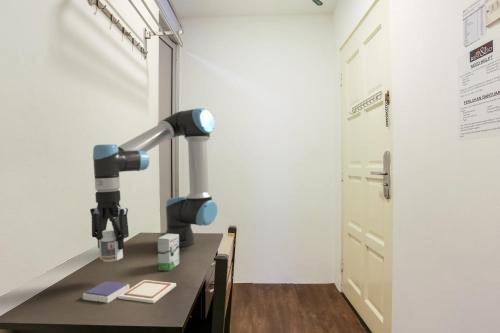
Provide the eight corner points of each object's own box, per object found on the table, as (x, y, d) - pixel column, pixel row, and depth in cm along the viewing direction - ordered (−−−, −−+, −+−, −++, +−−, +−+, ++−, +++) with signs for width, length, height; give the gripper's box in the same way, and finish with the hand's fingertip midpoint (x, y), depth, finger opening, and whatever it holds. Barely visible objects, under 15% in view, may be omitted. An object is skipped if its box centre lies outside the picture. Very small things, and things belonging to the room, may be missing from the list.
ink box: (169, 271, 106) (168, 238, 106) (157, 270, 107) (156, 238, 107) (180, 263, 115) (179, 233, 115) (168, 262, 116) (167, 232, 116)
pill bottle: (122, 259, 98) (121, 230, 98) (103, 263, 94) (102, 233, 94) (118, 255, 102) (116, 227, 102) (100, 259, 99) (98, 230, 99)
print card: (144, 282, 97) (144, 279, 97) (176, 285, 93) (176, 282, 93) (118, 298, 85) (118, 295, 85) (153, 303, 82) (153, 299, 82)
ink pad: (106, 286, 94) (105, 280, 94) (129, 289, 91) (129, 283, 91) (82, 299, 85) (82, 292, 85) (107, 302, 82) (107, 295, 82)
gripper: (76, 191, 97) (80, 260, 98) (123, 191, 91) (126, 264, 92) (94, 189, 104) (97, 253, 105) (138, 188, 99) (141, 256, 99)
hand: (111, 258), depth 99 cm, fingers closed on pill bottle, 6 cm apart
